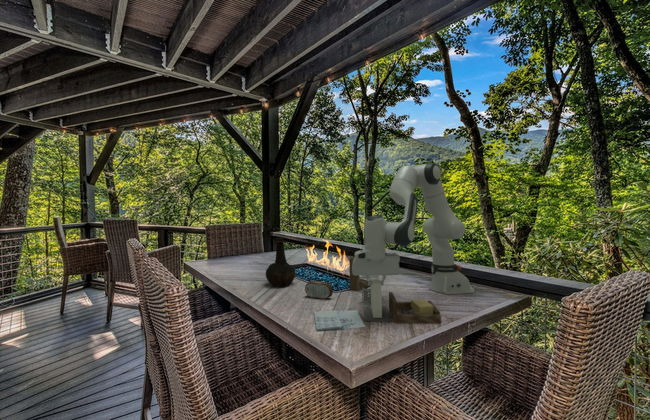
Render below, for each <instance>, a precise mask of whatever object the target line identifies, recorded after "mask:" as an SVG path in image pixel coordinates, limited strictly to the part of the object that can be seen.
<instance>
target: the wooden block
mask: <svg viewBox="0 0 650 420" xmlns="http://www.w3.org/2000/svg"><path fill="white" fill-rule="evenodd" d="M354 258H355V256H350V257H349V260H348V261H349V264H348V265H349V290H350V291H353V292H355V291H357V292H362V291H361V290H362V287H363V288H364V285H363V283H365V282H368V281H367V280H365V279H364V280H363V278H361V277H360V275H353V274H352V264H353V260H354ZM360 278H361V279H360ZM358 280H360V281H358ZM362 280H363V281H362ZM357 281H358V282H359V285H358V283H357ZM357 285H358V288H357ZM359 287H360V288H359ZM358 289H359V290H358ZM360 289H361V290H360Z"/></svg>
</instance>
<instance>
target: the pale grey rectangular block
mask: <svg viewBox="0 0 650 420" xmlns="http://www.w3.org/2000/svg"><path fill="white" fill-rule="evenodd" d="M371 281H372V283H371V284H372V285H371V287H370V289H371V310H372V314H373V318H382V307H383V306H382V304H383V303H382V285H381V283H380V281H381V280H380V278H379V277H378V278H371Z"/></svg>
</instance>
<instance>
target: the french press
mask: <svg viewBox="0 0 650 420" xmlns="http://www.w3.org/2000/svg"><path fill="white" fill-rule="evenodd" d="M379 277H380V275H369V278H368V279H369V281H371V278H379ZM360 279H362V281H363V280H364V281H365V279H366V277H365V275H361V277H360ZM358 281H360V280H358ZM358 281H357V283H358V285H359V282H358ZM358 285H357V288H358ZM363 285H364V288H363V287H362V290H361V289H360V290H361V291H360V293H361V294H362V297H361V298H362V299H361V302H360V306H362V307H363V308H371V285H369V286H368V281H367V282H365V283H363ZM359 288H360V287H359ZM358 290H359V289H358Z"/></svg>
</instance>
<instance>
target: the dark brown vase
mask: <svg viewBox="0 0 650 420" xmlns="http://www.w3.org/2000/svg"><path fill="white" fill-rule="evenodd" d="M274 242H275V243H276V244H275V245H276V247H275V248H276V249H275V250H276V251H275V260H274V261H275V262H272V263H271V264H270V265H269V266H268V267H267V268H266V270H265V278H266V280H267V282H268V283H270V284H271V285H272V286H275V287H284V286H288V285H290V284H291V283H292V282H293V281H294V280H295V277H296V270H295V268H294V266H293V265H292V264H290V263H288V262H287V258H286V253H285V243H286V241H285V240H284V237H276V238H275V241H274Z"/></svg>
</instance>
